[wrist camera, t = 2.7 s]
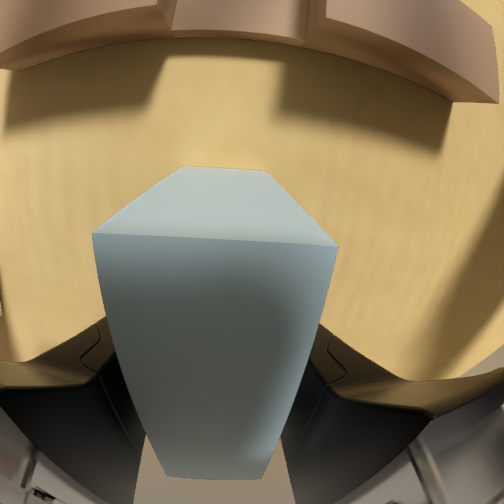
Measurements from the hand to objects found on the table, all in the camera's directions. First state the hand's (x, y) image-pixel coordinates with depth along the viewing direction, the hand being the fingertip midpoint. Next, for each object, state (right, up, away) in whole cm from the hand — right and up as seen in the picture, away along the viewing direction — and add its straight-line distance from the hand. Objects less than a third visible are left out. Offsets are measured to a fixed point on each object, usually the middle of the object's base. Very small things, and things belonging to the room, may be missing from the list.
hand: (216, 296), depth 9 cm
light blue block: (0, +1, +2) cm, 2 cm away
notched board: (+1, +11, -3) cm, 11 cm away
